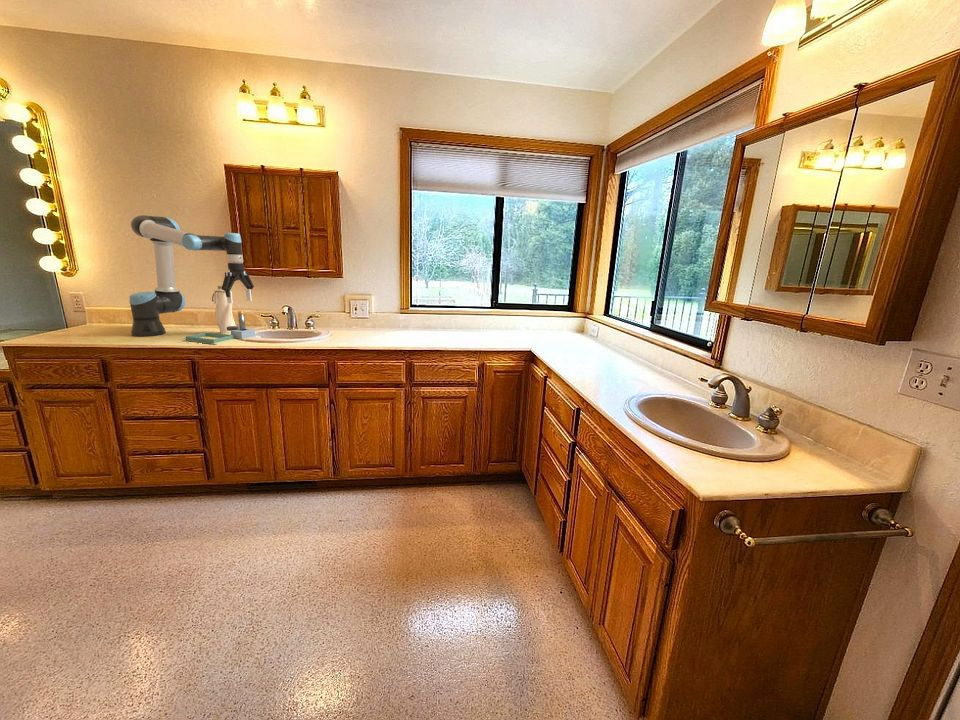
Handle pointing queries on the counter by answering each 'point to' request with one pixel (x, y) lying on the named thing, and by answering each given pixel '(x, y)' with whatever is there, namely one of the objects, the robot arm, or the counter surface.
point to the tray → (207, 341)
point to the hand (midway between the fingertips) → (240, 301)
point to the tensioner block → (241, 332)
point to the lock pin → (241, 320)
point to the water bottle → (223, 311)
